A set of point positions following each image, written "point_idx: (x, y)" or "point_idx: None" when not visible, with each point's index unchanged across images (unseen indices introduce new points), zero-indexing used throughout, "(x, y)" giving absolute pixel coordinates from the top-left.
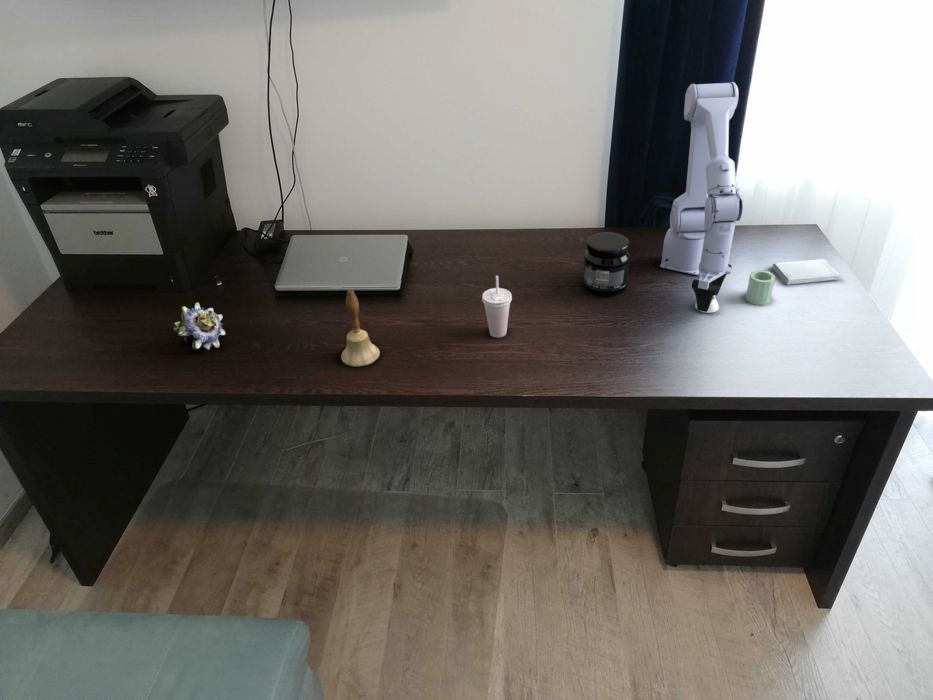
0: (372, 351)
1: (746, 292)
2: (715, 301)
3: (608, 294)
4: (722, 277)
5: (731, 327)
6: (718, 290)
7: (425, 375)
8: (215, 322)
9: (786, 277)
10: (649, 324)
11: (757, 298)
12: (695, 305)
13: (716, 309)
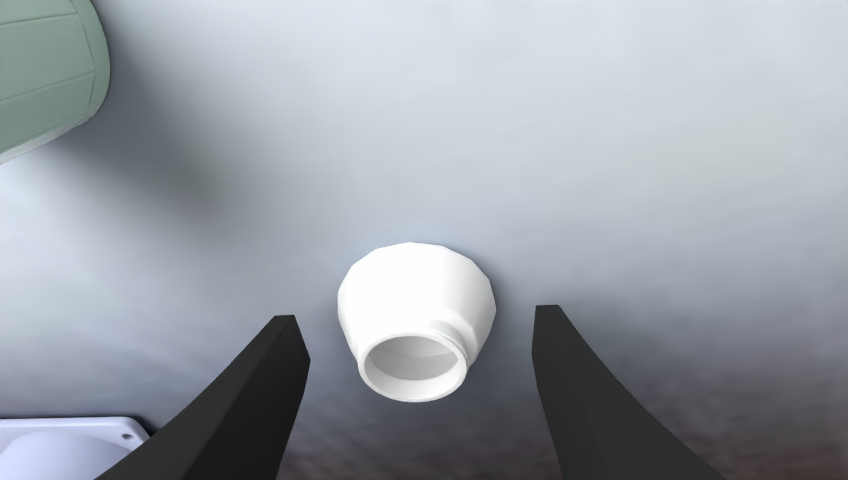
0: None
1: (34, 147)
2: (405, 307)
3: None
4: (204, 475)
5: (605, 65)
6: (275, 348)
7: None
8: None
9: None
10: (706, 438)
11: (28, 1)
12: (455, 358)
13: (437, 254)
